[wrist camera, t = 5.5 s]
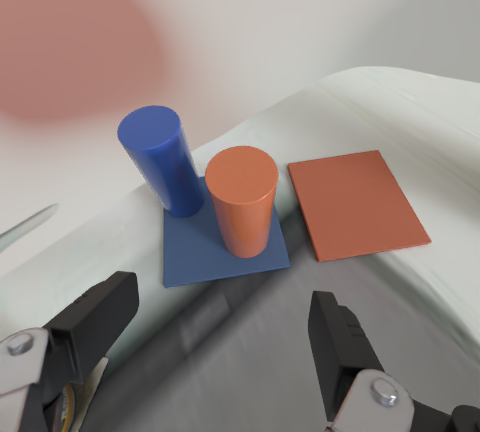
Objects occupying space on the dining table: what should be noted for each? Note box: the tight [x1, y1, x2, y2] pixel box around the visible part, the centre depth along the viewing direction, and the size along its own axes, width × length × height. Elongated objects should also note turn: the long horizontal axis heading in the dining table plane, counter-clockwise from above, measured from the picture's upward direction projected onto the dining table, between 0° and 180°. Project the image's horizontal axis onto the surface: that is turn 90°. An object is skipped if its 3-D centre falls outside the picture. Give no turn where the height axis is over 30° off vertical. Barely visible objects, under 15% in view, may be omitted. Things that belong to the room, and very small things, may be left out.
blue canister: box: [117, 106, 205, 218], centre depth 23 cm, size 5×5×11 cm
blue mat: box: [164, 177, 290, 288], centre depth 27 cm, size 13×13×1 cm
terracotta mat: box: [287, 150, 431, 262], centre depth 27 cm, size 12×13×1 cm
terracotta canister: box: [205, 146, 278, 258], centre depth 21 cm, size 5×5×11 cm
